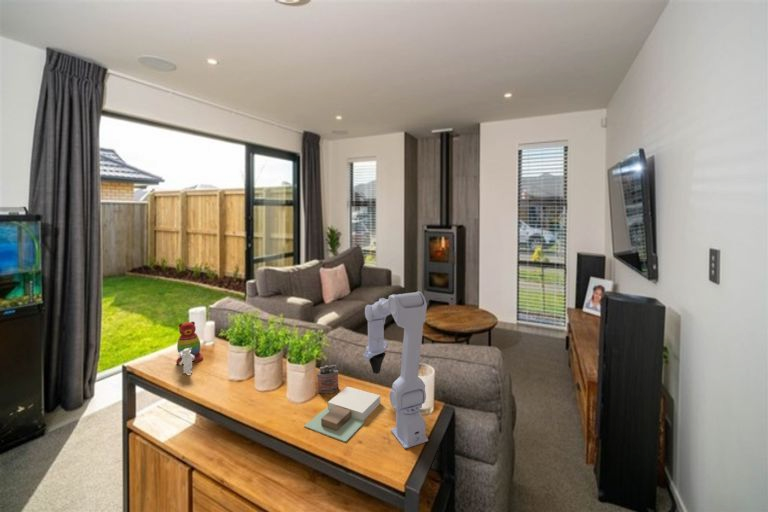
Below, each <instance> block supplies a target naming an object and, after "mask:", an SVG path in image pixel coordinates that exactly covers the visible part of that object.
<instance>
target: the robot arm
mask: <svg viewBox="0 0 768 512" xmlns="http://www.w3.org/2000/svg"><path fill="white" fill-rule="evenodd" d="M427 308H428V303H427V300H426V297H425V295H424V293H422V292H421V291H416V292H407V293H399V294H395V293H394V294H391V295H388V299H386V298H384V297H380V298H378V301H375V302H374V303H373V304H366V305H365V308H364V317H365V319H366V321H367V346H365V350H366V351H365V353H364V354H363V357H362V361H364V362H367V363H370V366H371V369H372V373H373V374H375V375H379V374H380V372H381V368H382V364H383V360H384V358H385V356H386V352H385V350H386V349H387V348H388V345H389V343H388V341H385V336H384V335H385V333H384V332H385V331H384V330H385V329H384V328H385V326H384V325H385V324H386V319H387V317H389V316H390V315H391V316H392V318H393V320H394V322H395V323H396V326H397V327H399V328H403V340H402V352H401V361H400V362H401V364H400V375H399V376H398V377H397V379H395V381H394V382H392V385H391V389H390V392H389V402H390V404H391V407H392V408H393V409H394V410H395V427H392V428H391V429H390V431H391V433H392V434H393V435H394V436H395V439H396V440H397V441H398V442H399V443H400V445H401V446H402V447H403V449H409V448H411V447H415V446H418V445H421V444H424V443H426V442H428V441H429V439H428V437H427V436H426V429H427V428H426V421H425V419H424V417H423V415H422V414H421V409H423V405H424V404H425V403H426V400H427V393H426V384H425V382H424V381H423V379H422V378H421V377H419V372H420V370H419V369H420V368H419V367H420V359H421V350H422V344H423V343H422V342H423V333H424V332H423V331H424V323H426V318H427Z"/></svg>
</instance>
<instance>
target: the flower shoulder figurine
mask: <svg viewBox="0 0 768 512" xmlns="http://www.w3.org/2000/svg"><path fill="white" fill-rule="evenodd" d="M189 349H190V350H189ZM190 352H191V348H186V349H184V350H183V352H182V351H181V352H180V353H178V354H177V357H178V358H180V357H181V358H182V360H181V362H180V363H179V365H178V366H182V363H184V364H183V373H187V374H191V373H192V374H193V372H192V369H193V362H192V361H193V360H194V358H195V356H193V355H192V354H191V353H190ZM178 358H177V359H178ZM192 359H193V360H192Z"/></svg>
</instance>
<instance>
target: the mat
mask: <svg viewBox="0 0 768 512" xmlns="http://www.w3.org/2000/svg"><path fill="white" fill-rule="evenodd" d="M329 411H331V410H329V409H328V408H324V409H323V410H322V411H320V413H318V414H317V415H315V416H314V417H313V418H312V419H310V420H309V421H308V422H307V423H305V424H304V425H303V427H304V428H305V427H306V429H308V428H309V430H312V431H314V432H316V433H320V434H322V435H325V436H328V438H329V437H330V438H332V439H335V440H337V441H340V442H343V443H347V442H348V441H349V439H351V437H353V435H355V434H356V433H357V432H358V431H359V429H361V428H362V427H363V425H364V424H365V423H366V421H365V420H364V421H363V420H360V419H356V418H353V417H351V418H350V419H349V420H348V421H347V422H346V423H345V424H344V425H343V426H342V427H341V428H340V429H339V430H338V431H334V430H332V429H329V428H326V427H323V426H321V418H322V417H323V416H325V415H326V414H327V413H328V412H329Z"/></svg>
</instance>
